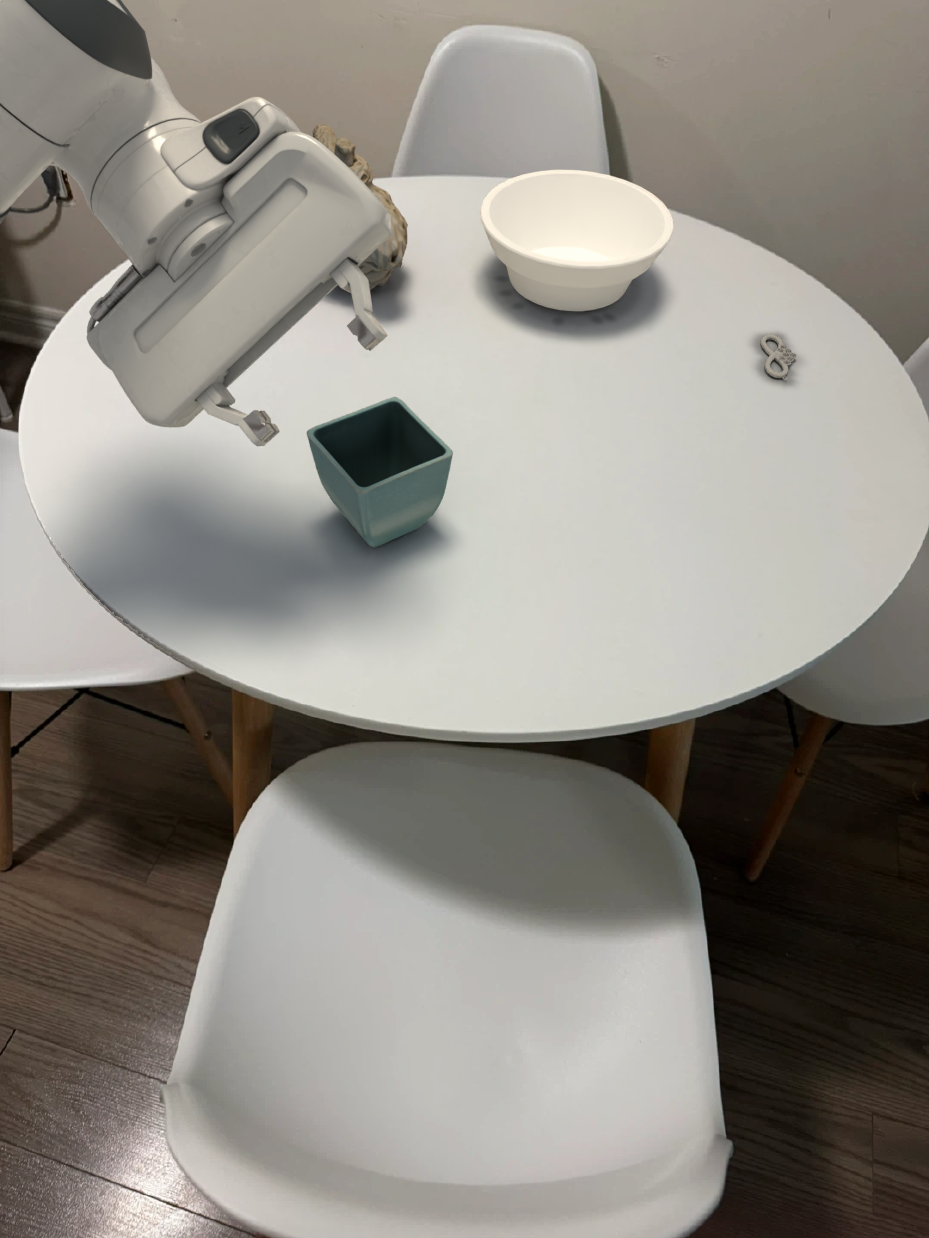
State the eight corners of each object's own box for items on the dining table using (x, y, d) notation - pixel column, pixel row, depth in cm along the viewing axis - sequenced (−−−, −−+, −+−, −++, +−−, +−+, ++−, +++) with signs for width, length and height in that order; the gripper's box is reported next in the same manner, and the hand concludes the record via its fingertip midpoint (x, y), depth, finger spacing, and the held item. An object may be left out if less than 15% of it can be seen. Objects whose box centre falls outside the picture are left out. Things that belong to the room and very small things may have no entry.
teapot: (440, 311, 97) (441, 172, 85) (342, 335, 94) (329, 194, 82) (366, 221, 109) (359, 88, 97) (277, 240, 105) (258, 104, 94)
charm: (760, 330, 96) (792, 333, 95) (758, 334, 96) (791, 337, 96) (767, 374, 91) (802, 377, 91) (766, 379, 91) (800, 382, 91)
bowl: (451, 250, 105) (453, 181, 99) (610, 226, 110) (622, 159, 103) (516, 351, 93) (523, 280, 86) (691, 319, 98) (710, 249, 91)
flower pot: (399, 473, 81) (396, 393, 74) (453, 531, 76) (456, 452, 69) (314, 510, 77) (303, 429, 70) (366, 573, 73) (359, 494, 66)
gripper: (43, 320, 54) (185, 497, 55) (279, 74, 49) (432, 275, 50) (101, 330, 60) (228, 490, 61) (316, 113, 55) (452, 292, 56)
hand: (321, 392), depth 56 cm, fingers open, 8 cm apart
